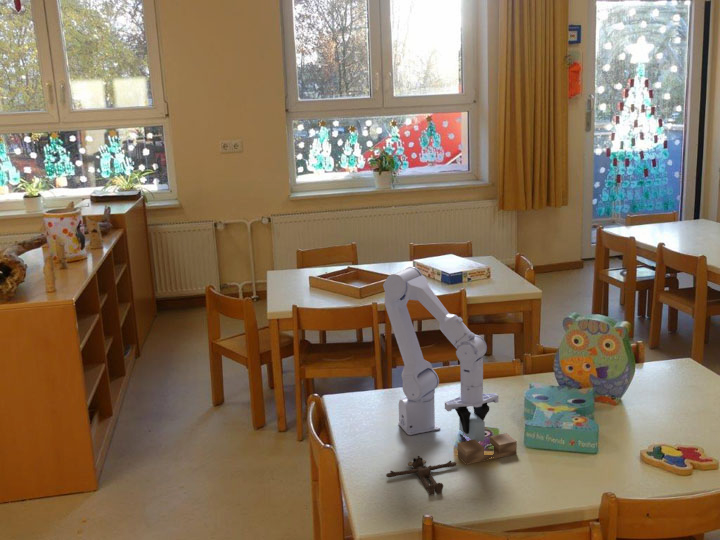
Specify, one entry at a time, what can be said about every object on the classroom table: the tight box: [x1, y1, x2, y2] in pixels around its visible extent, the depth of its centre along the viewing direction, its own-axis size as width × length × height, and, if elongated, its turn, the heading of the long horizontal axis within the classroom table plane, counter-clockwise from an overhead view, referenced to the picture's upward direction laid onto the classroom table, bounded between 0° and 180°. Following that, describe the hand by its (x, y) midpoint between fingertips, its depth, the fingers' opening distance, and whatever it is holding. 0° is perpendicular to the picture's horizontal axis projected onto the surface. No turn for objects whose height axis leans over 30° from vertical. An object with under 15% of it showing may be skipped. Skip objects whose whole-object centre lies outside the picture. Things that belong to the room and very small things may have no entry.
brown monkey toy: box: [385, 455, 458, 496], centre depth 181 cm, size 18×4×14 cm
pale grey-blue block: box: [458, 407, 486, 442], centre depth 198 cm, size 3×9×7 cm, turn 18°
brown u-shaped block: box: [456, 432, 518, 465], centre depth 191 cm, size 14×5×4 cm, turn 108°
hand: (471, 431), depth 198 cm, fingers closed on pale grey-blue block, 3 cm apart
